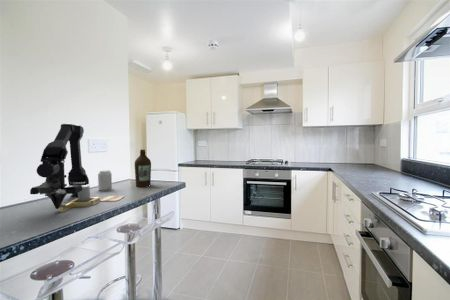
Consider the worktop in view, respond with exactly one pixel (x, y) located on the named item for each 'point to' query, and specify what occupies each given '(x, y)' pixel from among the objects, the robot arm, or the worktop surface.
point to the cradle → (92, 200)
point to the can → (104, 180)
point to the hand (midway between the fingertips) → (57, 208)
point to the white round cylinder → (84, 194)
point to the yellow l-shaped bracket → (73, 205)
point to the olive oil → (143, 170)
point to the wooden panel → (112, 198)
